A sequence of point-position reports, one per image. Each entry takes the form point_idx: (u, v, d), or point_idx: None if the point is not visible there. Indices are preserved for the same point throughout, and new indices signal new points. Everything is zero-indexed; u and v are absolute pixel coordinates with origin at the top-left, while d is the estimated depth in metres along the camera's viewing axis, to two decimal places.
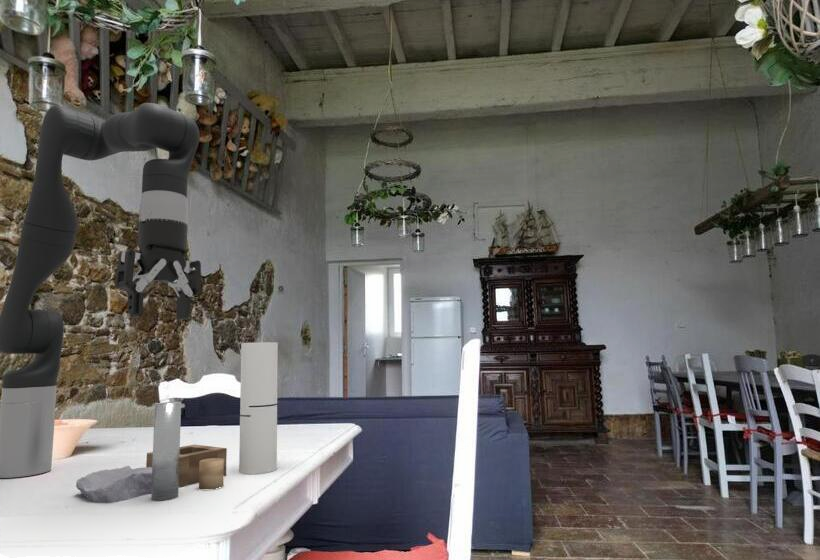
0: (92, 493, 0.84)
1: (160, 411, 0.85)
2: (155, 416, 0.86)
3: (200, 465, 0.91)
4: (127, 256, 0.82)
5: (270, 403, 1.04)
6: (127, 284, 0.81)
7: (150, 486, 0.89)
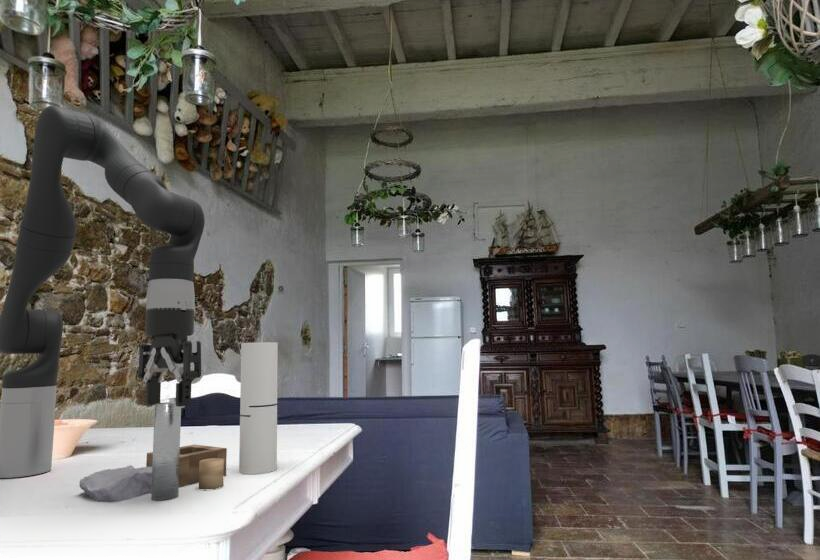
0: (96, 492, 0.84)
1: (160, 411, 0.85)
2: (155, 416, 0.86)
3: (200, 465, 0.91)
4: (199, 348, 0.86)
5: (270, 403, 1.04)
6: None
7: None
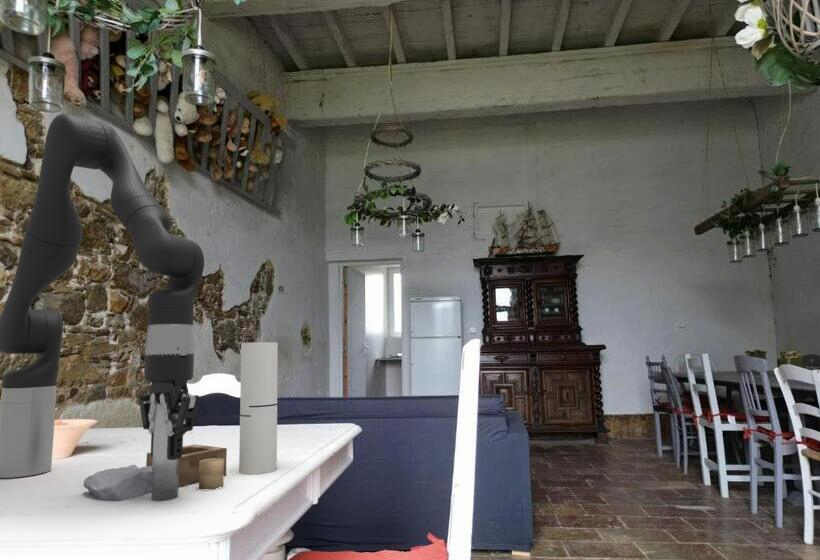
0: (100, 491, 0.85)
1: (160, 411, 0.85)
2: (155, 416, 0.86)
3: (200, 465, 0.91)
4: (197, 403, 0.85)
5: (270, 403, 1.04)
6: None
7: None
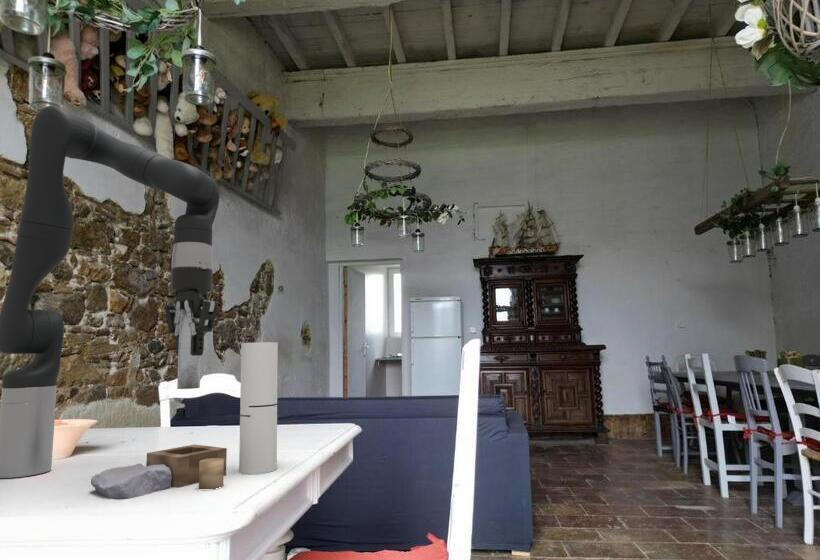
0: (108, 489, 0.86)
1: (184, 315, 1.01)
2: (180, 320, 1.01)
3: (200, 465, 0.91)
4: (216, 308, 1.00)
5: (270, 403, 1.04)
6: None
7: (164, 483, 0.91)
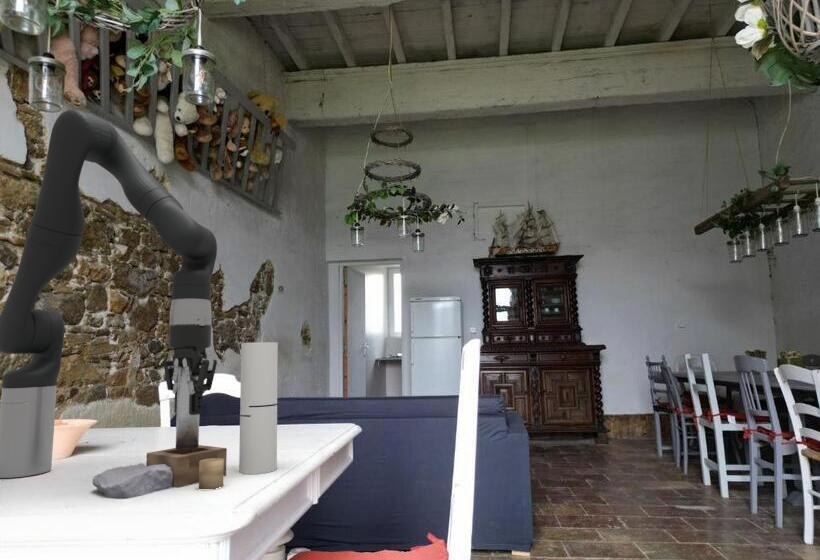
0: (109, 489, 0.86)
1: (182, 373, 0.99)
2: (178, 378, 1.00)
3: (200, 465, 0.91)
4: (215, 366, 0.99)
5: (270, 403, 1.04)
6: None
7: (165, 483, 0.91)
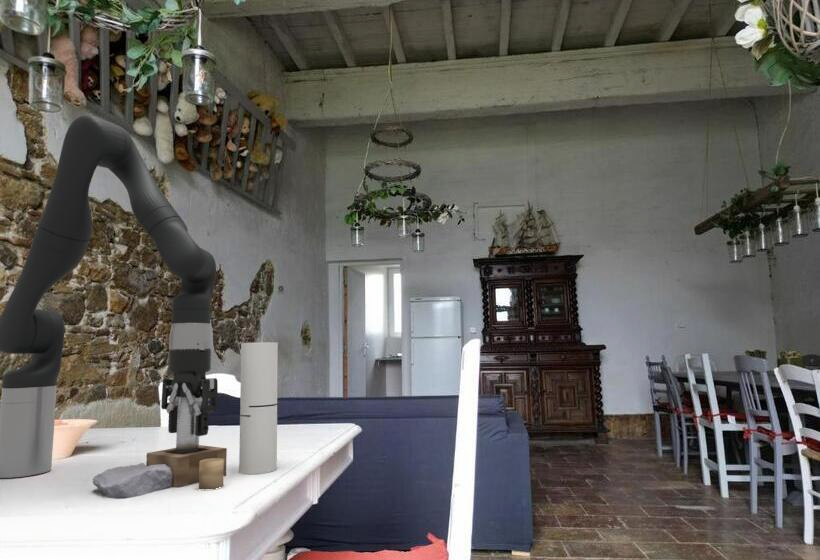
0: (109, 488, 0.87)
1: (183, 403, 0.99)
2: (178, 408, 0.99)
3: (200, 465, 0.91)
4: (216, 384, 0.98)
5: (270, 403, 1.04)
6: None
7: (164, 483, 0.91)
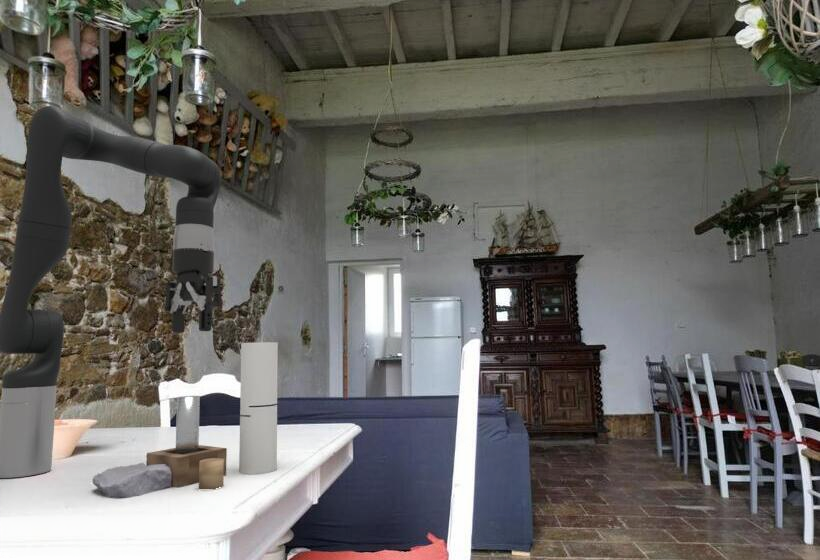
0: (108, 488, 0.87)
1: (181, 404, 0.99)
2: (177, 408, 0.99)
3: (200, 465, 0.91)
4: (219, 282, 1.01)
5: (270, 403, 1.04)
6: (219, 305, 1.00)
7: (163, 482, 0.91)
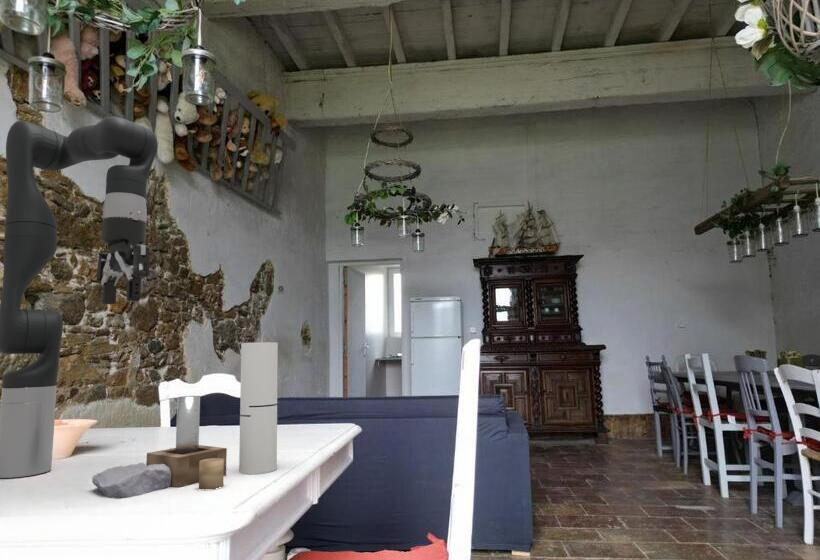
0: (107, 488, 0.87)
1: (182, 404, 0.99)
2: (178, 408, 0.99)
3: (200, 465, 0.91)
4: (148, 251, 0.99)
5: (270, 403, 1.04)
6: None
7: (163, 482, 0.91)
